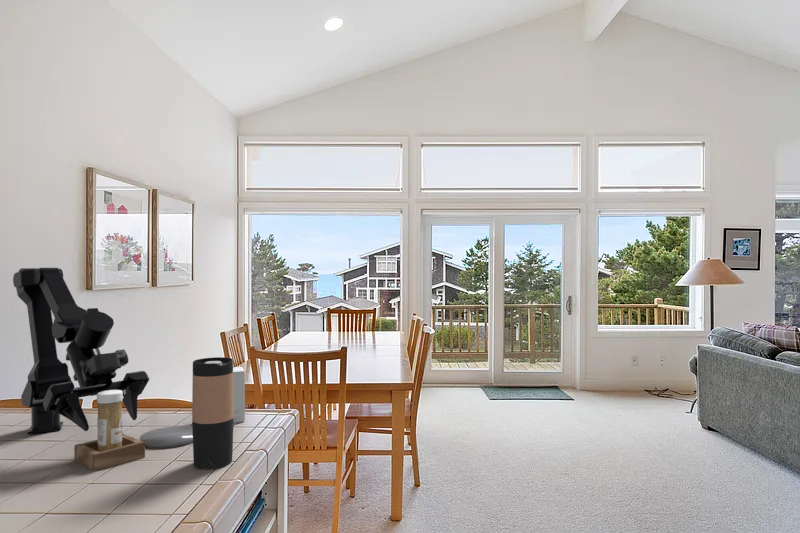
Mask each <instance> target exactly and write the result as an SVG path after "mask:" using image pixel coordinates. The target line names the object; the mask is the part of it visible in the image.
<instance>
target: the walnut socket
mask: <svg viewBox="0 0 800 533" xmlns="http://www.w3.org/2000/svg"><path fill="white" fill-rule="evenodd" d="M73 449H74V451H73V452H74V454H73V455H74V457H73V458H74V460H73V461H75V462H77V463H78V464H80V465H83V466H85V467H87V468H89V469H90V470H93V471H95V472H97V471H101V470H105V469H108V468H111V467H116V466H120V465H122V464H126V463H129V462H133V461H137V460H141V459H143V458H146V447H145V442H143V441H140V439H138V438H135V437H132V436H129V435H127V434H125V433H122V446H121V447H117V448H113V449H109V450H105V451H102V452H98V439H95V440H91V441H86V442H82V443H78V444H74V448H73Z"/></svg>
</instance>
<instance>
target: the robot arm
mask: <svg viewBox="0 0 800 533" xmlns="http://www.w3.org/2000/svg"><path fill="white" fill-rule="evenodd" d="M12 282H13V287H14V288H16V289H15V290H16V293H17V295H16V296H17V297H18V298H19V299H20V300H21V301H22V302H23V303H24V304H25V305H26V307H27V308H26V309H27V315H28V316H27V317H28V323H29V330H30V340H31V348H32V354H33V365H32V368H31V369H30V371H29V373H28V375H27V382H26V384H25V387H24V389H23V391H22V394H21V395H20V396H21V397H20V398H21V405H22V406H24V407H26V408H29V409H31V414H30V415H31V422H30V423H31V425H30V427H29V429H28V430H27V434H30V435H31V434H38V433H48V432H55V431H61V430H62V427H63V425H64V421H61V416H62V417H64V418H66V419H68V420H69V421H71V422H72V423H73V424H75V425H76V426H78V427H79V428H81V429H82V430H83V431H85V432H88V431H89V429H90V426H89V423H88V419H87V417H86V415H85V413H84V411H83V408H82V406H81V404H80V398H85V397H94V396H97V394H98V393H99V392H102V391H107V390H121V391H122V392H123V400H122V403H123V405H124V407H125V410H126V411H127V413H128V414H129V416H130V418H131V419H132V421H136V420H137V418H138V397H139V396H140V395H142V394H143V391H144V389H145V388H146V386H147V384H148V382H149V381H150V378H149V375H148V373H147V372H146V371H144V370H139V371H133V372H127V373H125V376H124V377H123V379H122V380H119V381H113V379H115V378H116V376H117V372H116V371H117V370H118V369H121V368H122V367H125V366H126V365H127V364H128V363H129V357H128V356H129V355H128V353H127V351H126V350H125V349H116V350H115V351H113V352H109V353H101V350H100V349H99V348H102V347H103V346H105V344H106V341H107V338H108V336H109V335H110V333H111V332H112V331H111V330H112V329H113V327H114V324H115V322H114V319H113V317H111V316H110V315H108V314H107V313H105V312H102V311H99V308H98V307H91V308H87V309H84V308H82V307H80V306H79V305H78V304H77V303H76V301H75V299H74V297H73V295H72V293H71V291H70V288H69V286H68V284H67V283H66V281H65V279H64V272H63V270H62V268H59V267H39V268H37V267H36V268H35V267H33V268H32V267H30V268H29V267H21V268H19V270H18V271H17V272H14V274H13V276H12ZM52 315H53V316H52ZM53 317H54V319H53ZM56 342H57V343H59V344H66V343H69V344H68V345H67V348H66V356H65V360H66V361H69V362H70V363H71V367H72V369H73V373H74V375H73V380H74V382H75V381H76V382H78V386H77V387H75V384H74V382H73V381H72V378H71V376H70V375H69V374H70V373H69V367H68V366H69V365H68V364H67V363H66V362H62V361H61V360H60V358H59V357H58V353H57V352H58V351H57V345H56Z"/></svg>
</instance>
